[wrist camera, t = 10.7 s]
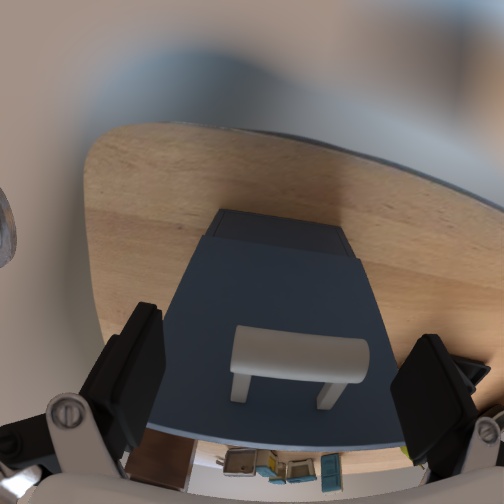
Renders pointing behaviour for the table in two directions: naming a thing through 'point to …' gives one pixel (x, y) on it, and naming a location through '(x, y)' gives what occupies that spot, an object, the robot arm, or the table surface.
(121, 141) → the table surface
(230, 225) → the storage box
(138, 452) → the stand
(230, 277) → the box lid
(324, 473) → the toy kitchen set
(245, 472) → the decorative sculpture
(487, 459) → the robot arm
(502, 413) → the stone bowl
